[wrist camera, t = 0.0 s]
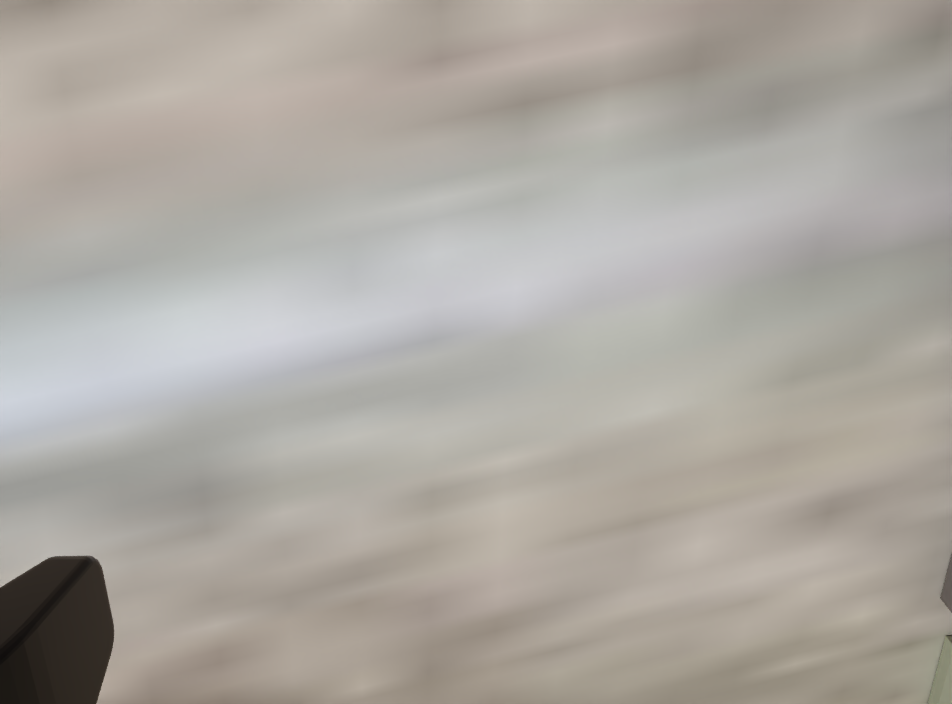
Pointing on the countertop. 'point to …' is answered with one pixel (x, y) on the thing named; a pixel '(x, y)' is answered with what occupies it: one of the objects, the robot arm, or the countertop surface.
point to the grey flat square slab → (948, 588)
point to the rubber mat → (943, 676)
